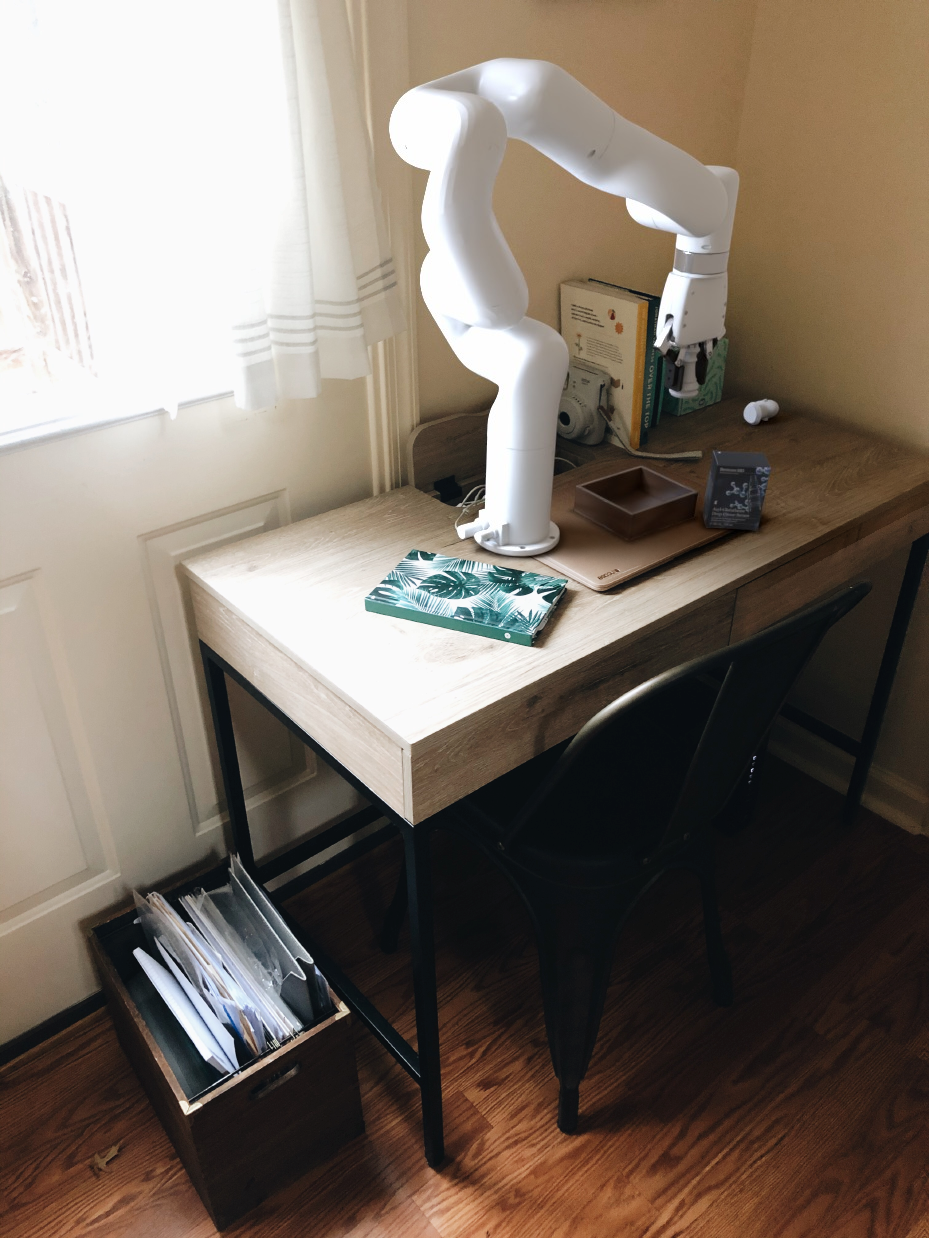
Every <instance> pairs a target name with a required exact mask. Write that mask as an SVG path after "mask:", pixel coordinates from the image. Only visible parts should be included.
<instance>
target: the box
mask: <svg viewBox="0 0 929 1238" xmlns="http://www.w3.org/2000/svg"><path fill="white" fill-rule="evenodd" d="M771 470H772V469H771V464H770V463H769V460H768V458H767V456H766V453H764V452H745V451H744V452H743V451H726V450H725V451H723V450H718V449H717V450H715V449H713V450H712V455H711V461H710V467H709V472H708V478H707V482H706V483H707V484H706V489H705V495H704V499H703V506H702V516H703V521H704V524H705V528H707V529H712V528H713V529H730V530H740V531H741V530H743V531H751V532H753V531H754V532H756V531H757V532H758V530H759V528H760V527H759V526H760V521H761V517H762V513H763V507H764V503H765V497H766V493H767V490H768V489H767V488H768V484H769V480H770V474H771Z"/></svg>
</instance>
